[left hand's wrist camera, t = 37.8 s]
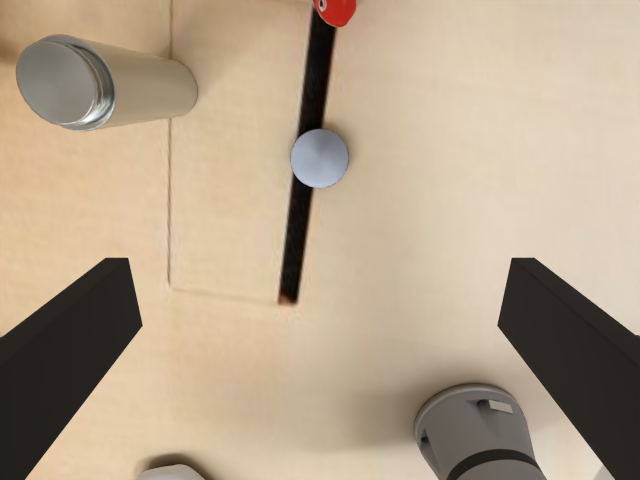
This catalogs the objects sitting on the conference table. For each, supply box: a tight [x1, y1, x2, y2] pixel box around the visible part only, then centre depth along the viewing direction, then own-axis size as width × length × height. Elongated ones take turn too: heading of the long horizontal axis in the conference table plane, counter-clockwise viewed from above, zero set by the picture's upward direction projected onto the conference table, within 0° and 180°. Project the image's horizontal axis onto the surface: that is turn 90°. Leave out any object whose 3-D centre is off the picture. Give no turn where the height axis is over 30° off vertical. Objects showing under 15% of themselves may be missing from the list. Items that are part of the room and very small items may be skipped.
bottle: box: [16, 34, 198, 131], centre depth 28 cm, size 5×5×17 cm
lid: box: [290, 128, 349, 188], centre depth 38 cm, size 6×6×2 cm
